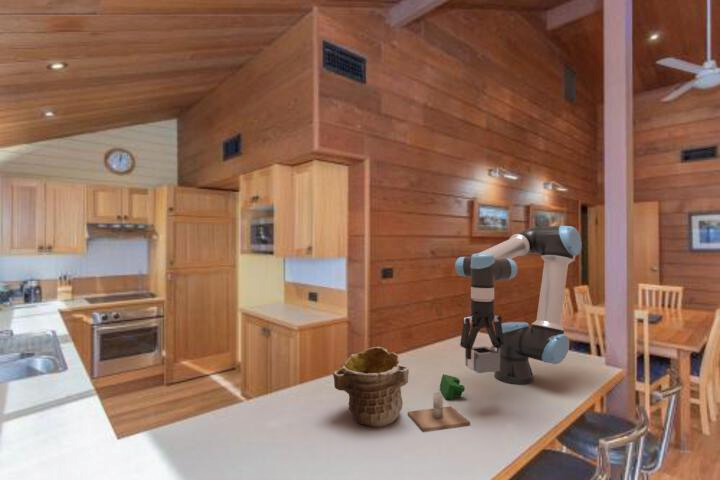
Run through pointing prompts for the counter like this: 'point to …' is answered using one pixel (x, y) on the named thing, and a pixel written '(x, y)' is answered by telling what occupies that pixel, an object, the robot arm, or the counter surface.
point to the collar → (485, 359)
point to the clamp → (451, 387)
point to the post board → (438, 416)
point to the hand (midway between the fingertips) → (482, 367)
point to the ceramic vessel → (373, 385)
